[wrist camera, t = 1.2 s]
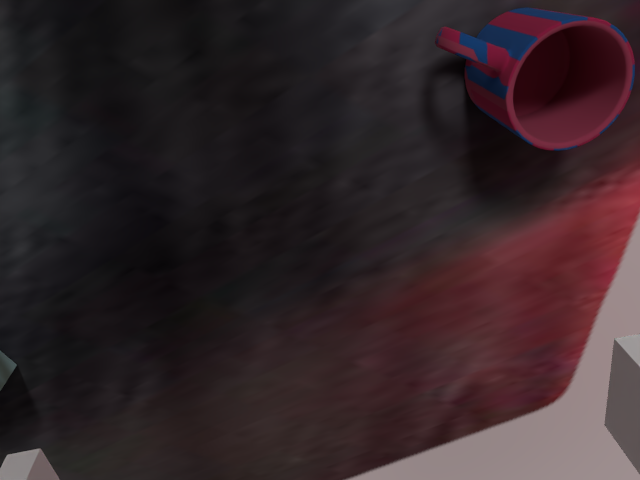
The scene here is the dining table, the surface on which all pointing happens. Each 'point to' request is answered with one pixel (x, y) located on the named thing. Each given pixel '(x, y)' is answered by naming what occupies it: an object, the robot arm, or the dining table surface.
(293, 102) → the dining table surface
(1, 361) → the bay
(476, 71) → the mug
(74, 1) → the dining table surface
